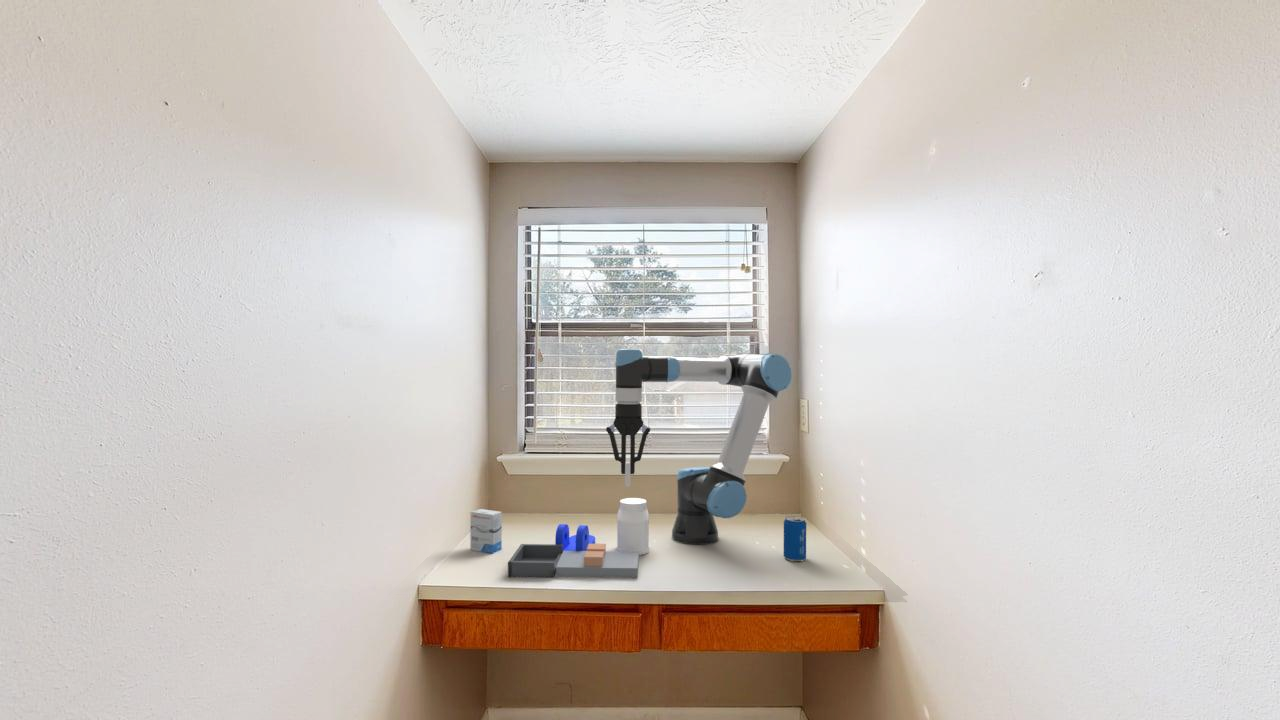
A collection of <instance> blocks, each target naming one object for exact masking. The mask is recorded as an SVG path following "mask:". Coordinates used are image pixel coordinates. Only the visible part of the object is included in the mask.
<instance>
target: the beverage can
mask: <svg viewBox="0 0 1280 720" xmlns="http://www.w3.org/2000/svg"><path fill="white" fill-rule="evenodd" d="M805 520H806V519H805V518H804V517H802V516H799V515H787V516H785V519H784V520H783V557H784V558H785V559H786V560H787V561H789V560H790V562H793V561H801V562H803V561H804V560H806V559H807V522H806V521H805ZM802 560H803V561H802Z"/></svg>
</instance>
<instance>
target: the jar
mask: <svg viewBox="0 0 1280 720" xmlns="http://www.w3.org/2000/svg"><path fill="white" fill-rule="evenodd" d="M649 514H650V513H649V510H648V508H647V500H646V499H645V498H639V497H626V498H622V499H620V500H619V508H618V511H617V517H616V518H617V519H616V520H617V526H616V527H617V539H616V542H617V543H616V551H621V552H639V556H643V555H646V553H647V554H648V553H650V552H649V551H650V548H649V540H650V539H649V535H650V534H649V529H650V528H649V525H650V524H649V523H650V515H649ZM642 554H643V555H642Z"/></svg>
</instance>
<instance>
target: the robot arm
mask: <svg viewBox="0 0 1280 720" xmlns="http://www.w3.org/2000/svg"><path fill="white" fill-rule="evenodd" d="M614 364H615V402H617V403H615V408H614V409H615V410H614V413H615V416H614V417H615V418H614V420H613V423H612V424H610V425H609V426H607V427H605V428H606V429H605V430H606V433H607V434H608V436H609V438H610V439H609V440H610V444H611V447H612V451H613V452H612V453H613V457H614V460H615V461H618V462H620V472H621V475H624V487H631V484H632V483H631V482H632V481H631V480H632V479H631V476H632V475H634V474H635V471H636V470H635V468H636V467H635V464H636V462H640V461H642V460H641V459H642V456H643V452H644V447H645V444H646V439H647V437H648V435H649V433H650V432H651V427H650V426H647V425H645V424H644V421H643V418H642V416H643V415H642V413H643V412H642V411H643V409H642V408H643V407H642V406H643V405H642V404H641V402H642V398H643V395H642V393H643V388H642V387H643V386H642V385H643V383H646V382H647V383H649V382H650V383H651V382H652V383H668V382H669V383H670V382H718V384H720V385H727V386H734V387H739V388H740V387H741V390H742V393H743V395H742V397H741V399H740V402H739V406H738V407H737V410H736V413H735V415H734V418H733V420H732V424H731V426H730V428H729V431H728V433H727V437H726V439H725V442H724V444H723V447H722V449H721V452H720V455H719V457H718V459H717V461H716V463H714V464H712V465H710V466H697V467H696V466H695V467H694V466H693V467H685V468H681V469H679V470H678V472H677V479H676V482H677V515H676V516H675V517H676V518H675V520H674V523H673V526H672V530H671V538H672V540H674V541H676V542H678V543H682V544H689V545H707V544H712V543H714V542H717V541H718V540H719V530H718V526H717V524H716V521H715V518H714V517H717V518H721V519H730V518H731V519H733V518H734V517H736V516H737V515H739V514H740V513H741V512H742V511H743V510H744V508H745V505H746V503H747V498H748V497H747V493H746V492H747V491H746V488H745V484H746V482H747V481H746V478H745V476H744V471H745V469H746V466H747V464H748V461H749V458H750V455H751V453H752V450H753V448H754V446H755V442H756V440H757V437H758V435H759V433H760V429H761V426H762V425H763V424H762V423H763V421H764V418H765V416H766V413H767V410H768V407H769V406H770V405H769V404H771V403H772V402H775V401H776V400H777V397H778V395H779V392H781V391H784V390H785V389H787V388H788V387H789V385H790V384H791V382H792V375H793V373H792V368H791V367H790V363H789V362H788V360H787V359H786V358H785V357H784V356H782V355H781V354H776V353H772V352H771V353H770V352H768V353H743V354H738V355H728V356H727V355H722V356H720V357H718V358H704V357H701V358H699V357H676V356H668V355H666V356H665V355H664V356H663V355H660V356H659V355H658V356H656V355H655V356H651V355H650V356H647V355H644V354H643V350H642V349H639V348H620V349H618V350H617V351H616V357H615V363H614ZM641 428H642V430H641ZM615 429H616V430H617V431H618V434H620V436H621V437H620V438H621V444H620V445H621V447H620V450H621V451H620V452H621V453H619V449H618V444H617V440H616V437H615V431H616V430H615ZM640 430H641V432H642V436H641V440H640V444H639V448H638V452H637V455H636V452H635V451H636V435H637V434H638V432H639V431H640ZM627 436H630V438H629V440H630V443H629V444H630V448H629V449H630V452H629V453H630V456H629V459H630V461H627V460H626V459H627Z"/></svg>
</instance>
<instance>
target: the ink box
mask: <svg viewBox="0 0 1280 720" xmlns="http://www.w3.org/2000/svg"><path fill="white" fill-rule="evenodd" d="M502 514H503V511H499V510H489V509H486V508H485V509H483V508H479V509H476V510H473V511H471V512H470V542H469V543H470V545H469V546H470V547H469V548H470V549H469V550H470V551H475V552H481V553H488V554H494V553H496V552H499V551H501V550H502V546H503V545H502V542H503V541H502V540H503V539H502V538H503V537H502V532H503V531H502V530H503V529H502V528H503V527H502V525H503V523H502V522H503V521H502V520H503V519H502V518H503V517H502V516H503V515H502Z"/></svg>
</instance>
